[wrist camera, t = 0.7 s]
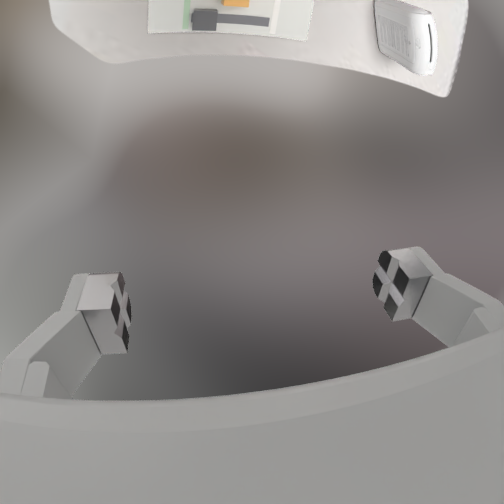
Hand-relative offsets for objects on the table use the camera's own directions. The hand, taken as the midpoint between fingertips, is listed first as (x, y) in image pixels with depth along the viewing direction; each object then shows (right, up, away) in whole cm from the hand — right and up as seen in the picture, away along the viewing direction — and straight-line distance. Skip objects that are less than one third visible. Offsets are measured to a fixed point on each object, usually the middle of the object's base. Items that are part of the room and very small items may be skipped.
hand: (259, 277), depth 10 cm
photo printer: (+20, +36, +28) cm, 50 cm away
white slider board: (-3, +35, +23) cm, 42 cm away
